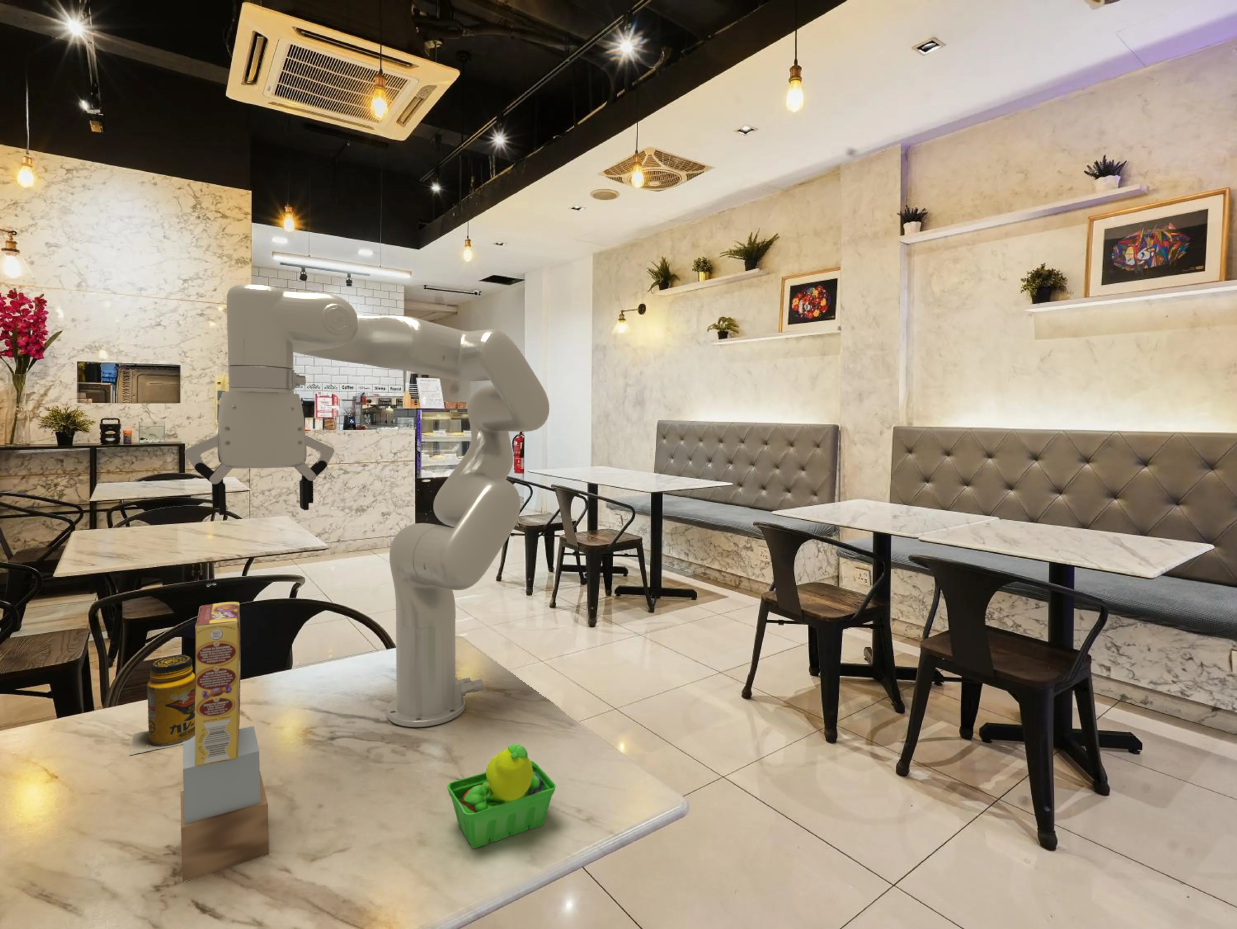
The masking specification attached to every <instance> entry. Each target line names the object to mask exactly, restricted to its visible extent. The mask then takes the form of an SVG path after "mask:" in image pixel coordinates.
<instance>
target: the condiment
mask: <svg viewBox="0 0 1237 929" xmlns="http://www.w3.org/2000/svg"><path fill="white" fill-rule="evenodd" d="M193 670H194V669H193V659H192V657H191V656H188V655H170V656H165V657H162V658H158V659H157V660H154V661H153V662H151V663H150V666H149V671H150V673H149V678H150V679H149V680H148V682H147V684H146V689H147V713H148V715H147V724H148V726H147V727H148V730H146V731H139V732H134V733H133V735H132V742H131V746H130V752H129V756H133V755H136V754H142V753H145V752H150V751H151V752H152V751H155V750H160V749H166V748H171V747H175V746H181V745H183V741H187V740H192V739H195V672H193Z"/></svg>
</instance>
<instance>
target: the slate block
mask: <svg viewBox="0 0 1237 929" xmlns="http://www.w3.org/2000/svg"><path fill="white" fill-rule="evenodd" d="M260 767H261V766H260V749H259V744H258V739H257V735H256V730H255V726H254V725H253V726H252V725H251V726H247V727H243V728H239V741H238V757H237V759H233V760H228V761H223V762H218V763H213V764H207V765H202V766H195V739H192V740H187V741H183V744H182V782H183V783H182V784H183V785H182V786H183V791H184V824H187V823H191V822H195V821H198V820H202V819H205V818H209V817H213V816H216V815H220V814H223V813H227V812H231V811H234V810H238V809H241V808H245V807H248V806H252V805H256V804H259V803H260V773H261V771H260V769H261V768H260Z"/></svg>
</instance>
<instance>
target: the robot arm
mask: <svg viewBox="0 0 1237 929" xmlns="http://www.w3.org/2000/svg"><path fill="white" fill-rule="evenodd" d="M226 324H227V330H226V331H227V334H226V336H227V362H228V365H227V366H228V367H227V369H228V370H227V374H228V391H222V392H221V395H220V401H219V407H218V416H217V418H218V419H217V420H218V421H217V423H218V424H217V435H215V436H212V437H210V438H208V439H206V440H203V441H200V442H199V443H197V444H193V446H190V447H187V448H186V449H185V450H184V455H185V456H186V457H187V459H188V461H189V462H190V464H191V466H192V467H193V469H194V471H196V472H197V473H198V474H199V475H201V476H202V477H203V478H205V479H206V480H207V481H209V482H210V483H211V500H212V501H211V504H212V509H218V514H219V516H225V515H226V514H227V499H226V498H227V497H226V494H227V493H226V492H227V491H226V483H225V482H224V478H225V477H226V476H227V475H228V474H229V473H230V472H231V471H232V470H233V469H237V470H239V469H242V470H243V469H280V468H281V469H282V468H283V469H284V468H294V469H295V470H296V471H297V473H299V474H300V475H301V479H300V480H299V481H298V482H299V483H298V484H299V485H298V486H299V508H300V509H301V510H303V511H309V509H310V504H314V481H315V480H316V478H317V477H318V476H319V475H320V474H321V473H323V471H324V470H325V469H326V468H327V466H328V463H329V462H330V461H331V459H332V457H333V456H334V453H335V448H333V447H331V446H329V445H328V444H325V443H324V442H321V441H319V440H317V439H315V438H313V437H310V436H309V435H307V434H306V426H305V416H304V411H303V405H302V400H301V397H300V394H299V393H295V389H296V388H297V387H300V386H306V382H307V380H306V379H307V378H306V375H300V374H297V372H295V369H294V368H295V367H294V353H296V354H300V355H304V356H305V355H306V356H310V357H314V358H315V357H316V358H321V359H325V360H330V361H332V360H333V361H337V362H345V363H352V364H358V365H359V364H360V365H365V366H366V365H367V366H372V367H377V368H382V369H391V370H398V371H399V370H401V371H406V372H411V373H416V374H422V375H427V376H433V377H438V378H440V379H446V380H447V379H448V380H453V381H458V382H484V381H485V382H487V381H490V382H491V384H488V385H484V386H481V387H479V388H478V389H476V390H474V391H473V393H472V394H471V395H470V397H469V399H468V403H467V408H466V409H467V416H468V422H469V426H470V434H471V435H470V436H471V437H470V438H471V439H470V444H469V447H468V449H467V450H466V452H465V454H464V456H463V457H462V458H461V459H460V461H459V463H458V464H457V465H456V466H455V468H454V469H453V471H452V472H451V474H450V475H449V476H447V479H446V480H445V481H444V483H443V484H442V486H441V487H440V488H439V490H438V491H437V494H436V495H435V497H434V500H433V506H432V507H433V512H434V515H435V517H436V518H437V519H438V520H439V521H440V522H442V524H444V525H439V524H433V523H426V522H420V523H413V524H410V525H407V526H405V527H403V528H402V529H401V530H399V532H397V533H396V535H395V537H394V538H393V540H392V542H391V544H390V548H389V564H390V566H389V567H390V572H391V577H392V582H393V585H394V586H393V588H394V594H395V595H394V596H395V638H396V639H395V654H396V655H395V656H396V657H395V661H396V662H395V663H396V665H395V666H396V673H395V674H396V676H395V677H396V698H394V699H393V700H392V701H391V702H390V703H389V704H388V705H387V708H386V717H387V719H388V720H389V722H391V723H393V724H395V725H398V726H401V727H407V728H423V727H424V728H425V727H431V726H436V725H441V724H444V723H446V722H449V721H451V720H454V719H455V718H457V717H458V716H460V715H461V714H462V713H463V712H464V711H465V708H466V699H465V697H466V696H467V694H471V693H477V692H481V691H483V690H484V688H485V687H484V681H483V680H482V678H479V679H476V680H471V679H472V678H470V677H463V678H462V679H458V678H457V677H456V673H457V672H456V619H457V618H456V614H457V611H456V608H457V607H456V599H455V595H454V591H463V590H468V589H469V588H471V587H473V586H474V585H476V584H477V583H478V582H479V581H480V580H481V579H482V578H483V576H484V575H485V574H486V572H487V571H488V569H489V568H490V566H491V565H492V563H493V562H494V560H495V559H496V557H497V555H498V554H499V553H500V551H501V549H502V547H503V546H504V544H505V543H506V542H507V540H508V538H509V537H510V535H511V533H512V532H513V531H514V529H515V527H516V525H517V522H518V520H519V517H520V513H521V512H520V511H521V498H520V494H519V493H520V492H518V489H517V488H516V486H515V484H513V483H511V481H509V480H508V479H507V478H508V477H509V474H510V473H511V471H512V468H513V465H514V453H513V452H514V451H513V448H512V443H511V438H510V433H509V432H517V433H518V432H521V433H522V432H523V433H525V432H527V433H528V432H534V431H537V430H538V429H540V428H542V427H543V426H544V425H545V423H546V422H547V420H548V418H549V415H550V402H549V398H548V395H547V392H546V391H545V389H544V386H543V385H542V384H541V382H540V381H539V378H538V376H536V374H535V372H534V371H533V369H532V368H531V366H530V364H529V363H528V361H527V359H526V357H525V356H524V354H523V353H522V351H521V350H520V348H518V346H517V345H516V344H515V341H513V340H512V339H511V338H510V337H509V336H508V335H507V334H506V333H505V332H503V331H501V330H499V329H497V328H487V329H479V330H478V329H477V330H471V331H470V330H469V331H468V330H461V329H457V328H454V327H451V326H447V325H442V324H438V323H434V322H431V321H428V320H425V319H424V320H423V319H421V318H418V317H414V316H407V315H375V316H374V315H372V316H370V315H358V314H357V312H356V310H355V308H354V306H352V304H350V303H349V302H348V301H347V300H346V299H344V298H343V297H340V296H338V295H336V294H332V293H328V292H311V291H310V292H309V291H308V292H307V291H305V292H301V291H290V290H289V291H288V290H283V289H281V288H279V287H275V286H271V285H263V284H253V283H251V284H249V283H245V284H243V283H241V284H236V285H233V286H232V287H231V288H230V289H228V292H227V294H226ZM307 447H308V448H310V449H312V450H315V451H318V453H319V457H318V458H317V459H318V460H317V461H315V462H314V464H312V466H310V467H309V465H308V464H306V461H307V455H308V454H307V453H308V452H307V451H308V450H307ZM215 448H217V457H218V458H217V459H218V462H219V463H220V464H219V465H218V466H217V467H216V468H215V469H214V470H213V469H212V468H210V466H208V465H207V464H206V463H205V462H204V461H203V459H202V457H201V455H202V454H204V453H206V452H208V451H210V450H212V449H215ZM445 525H446V526H445Z"/></svg>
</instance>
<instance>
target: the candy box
mask: <svg viewBox="0 0 1237 929" xmlns="http://www.w3.org/2000/svg"><path fill="white" fill-rule="evenodd" d="M194 627H195V628H194V629H195V634H194V636H195V640H194V641H195V642H194V643H195V644H194V647H195V648H194V650H195V654H194V655H195V657H194V658H195V659H194V662H195V663H194V674H195V766H202V765H207V764H213V763H218V762H223V761H228V760H233V759H237V757H238V741H239V729H240V723H241V719H240V718H241V717H240V715H241V714H240V712H241V616H240V602H239V601H226V602H218V603H211V604H204V605H200V606H199V609H198V615H197V620H196V623H195V625H194Z"/></svg>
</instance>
